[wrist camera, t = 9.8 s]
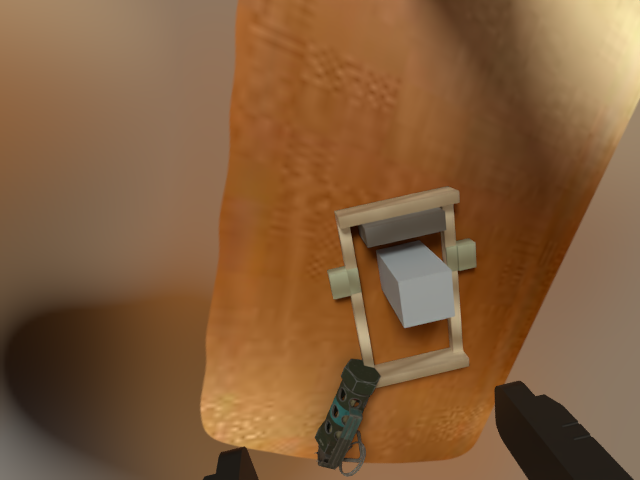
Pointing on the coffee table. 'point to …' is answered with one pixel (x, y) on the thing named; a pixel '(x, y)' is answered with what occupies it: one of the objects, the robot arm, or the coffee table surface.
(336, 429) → the stun grenade
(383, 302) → the coffee table surface
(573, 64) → the coffee table surface
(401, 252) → the grey rectangular block
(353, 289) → the beam frame
